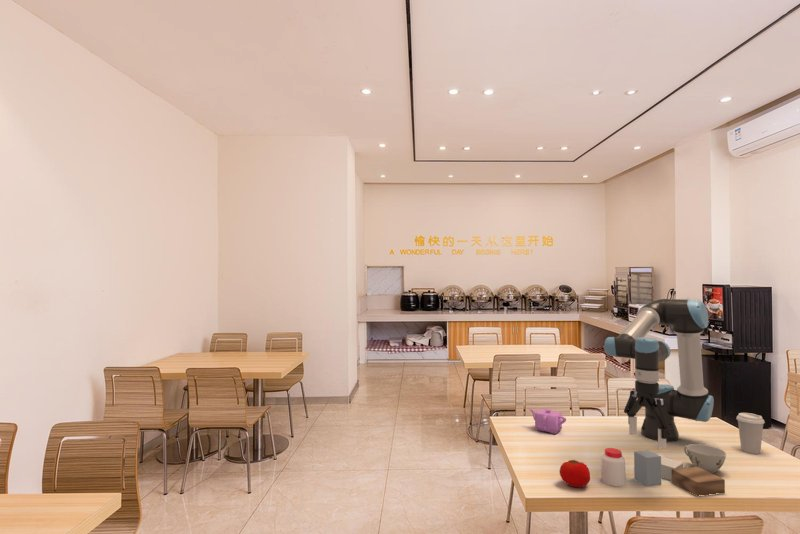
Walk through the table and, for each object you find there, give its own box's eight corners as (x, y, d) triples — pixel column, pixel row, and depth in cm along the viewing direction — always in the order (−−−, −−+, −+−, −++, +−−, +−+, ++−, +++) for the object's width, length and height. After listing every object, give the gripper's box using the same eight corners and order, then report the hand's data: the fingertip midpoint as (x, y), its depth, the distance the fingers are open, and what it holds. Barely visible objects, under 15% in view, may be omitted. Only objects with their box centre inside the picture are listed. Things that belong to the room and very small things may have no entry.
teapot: (523, 430, 219) (523, 409, 219) (533, 422, 230) (533, 402, 230) (562, 438, 208) (562, 415, 208) (570, 430, 219) (570, 408, 220)
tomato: (595, 490, 157) (595, 466, 157) (566, 491, 156) (566, 466, 156) (582, 478, 166) (582, 455, 166) (555, 479, 165) (555, 456, 165)
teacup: (734, 474, 170) (734, 453, 170) (710, 479, 166) (710, 457, 166) (696, 459, 184) (695, 439, 184) (673, 463, 180) (673, 443, 180)
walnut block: (671, 483, 164) (671, 468, 164) (697, 480, 166) (697, 466, 166) (697, 497, 153) (697, 482, 153) (724, 494, 155) (724, 479, 155)
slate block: (634, 479, 166) (634, 451, 166) (648, 477, 167) (648, 450, 168) (647, 486, 160) (646, 457, 160) (661, 484, 162) (661, 456, 162)
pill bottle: (597, 477, 167) (597, 446, 168) (617, 476, 168) (617, 446, 168) (608, 486, 160) (608, 455, 160) (629, 486, 160) (629, 454, 161)
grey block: (651, 474, 170) (651, 461, 170) (660, 469, 175) (660, 456, 175) (674, 482, 164) (674, 468, 164) (683, 476, 169) (683, 462, 169)
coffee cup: (770, 456, 188) (769, 419, 188) (744, 454, 190) (743, 418, 190) (757, 447, 197) (756, 412, 197) (732, 446, 199) (731, 411, 199)
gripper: (613, 374, 176) (613, 430, 175) (666, 389, 151) (666, 454, 151) (630, 373, 178) (630, 428, 177) (684, 388, 153) (685, 452, 153)
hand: (647, 440), depth 164 cm, fingers open, 13 cm apart
